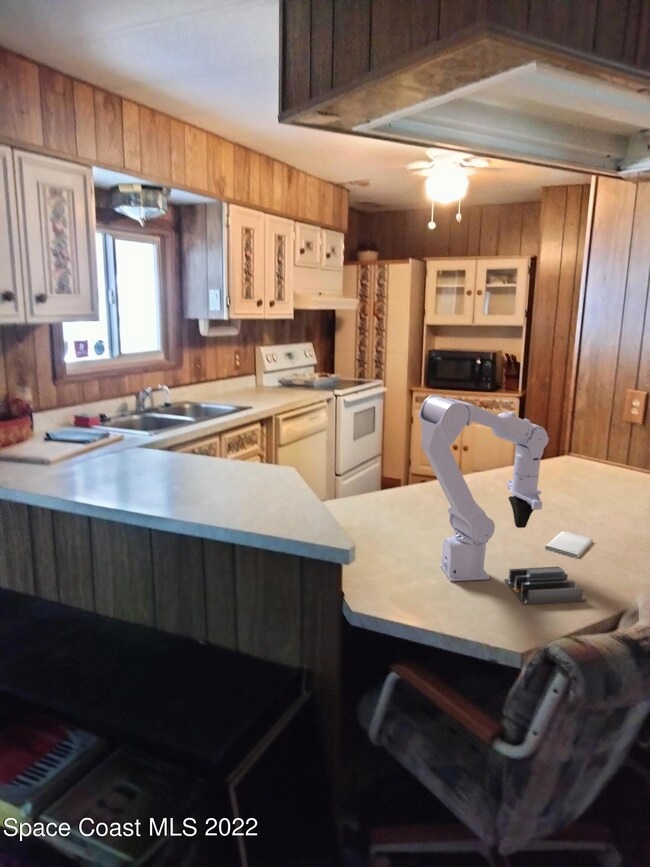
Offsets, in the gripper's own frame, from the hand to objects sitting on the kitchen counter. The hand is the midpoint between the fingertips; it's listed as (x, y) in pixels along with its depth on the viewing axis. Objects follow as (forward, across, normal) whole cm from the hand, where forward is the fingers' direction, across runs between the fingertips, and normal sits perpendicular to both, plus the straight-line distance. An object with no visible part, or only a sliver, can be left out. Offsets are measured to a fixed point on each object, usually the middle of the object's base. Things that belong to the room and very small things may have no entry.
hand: (520, 526), depth 147 cm
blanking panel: (+9, -14, 0) cm, 17 cm away
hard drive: (+10, +8, -18) cm, 22 cm away
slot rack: (+9, -14, 0) cm, 17 cm away
